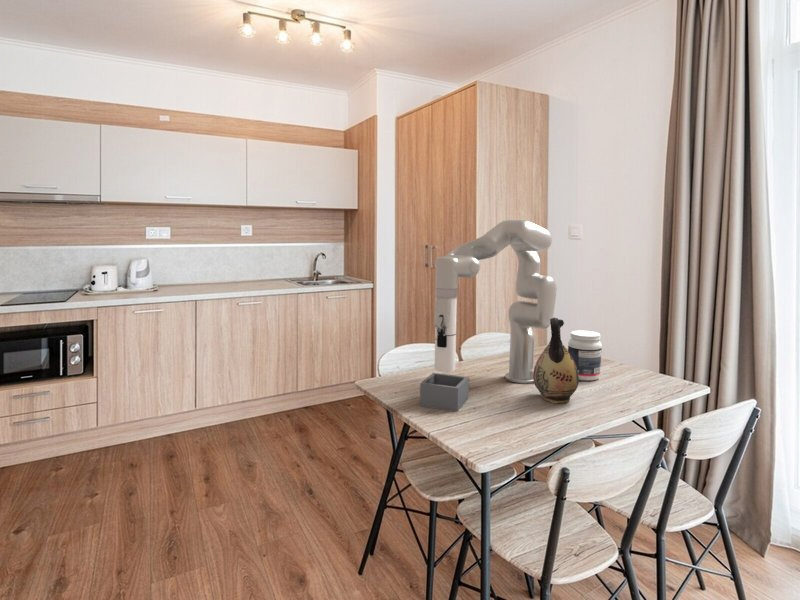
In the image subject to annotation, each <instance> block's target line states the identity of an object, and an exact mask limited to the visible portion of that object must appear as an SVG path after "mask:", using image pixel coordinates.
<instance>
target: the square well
mask: <svg viewBox="0 0 800 600" xmlns="http://www.w3.org/2000/svg"><path fill="white" fill-rule="evenodd" d="M469 382H470V377H469V376H462V375H454V374H446V373H438V372H432V373H431V374H429V376H427V377H426V378H425V379H424V380H422V381H421V382H420V383H419V406H420V407H425V406H426V407H425V408H431V407H432V408H433V409H437V410H438V409H439V410H445V411H451V412H452V411H453V412H459V411H460V409H462V407H463V406H464V405H465V404H466V403H467V401H468V400H469V396H470V395H469V391H470V390H469V388H470V385H469V384H470V383H469ZM463 404H464V405H463ZM432 408H431V409H432Z"/></svg>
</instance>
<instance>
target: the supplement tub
mask: <svg viewBox="0 0 800 600" xmlns="http://www.w3.org/2000/svg"><path fill="white" fill-rule="evenodd" d="M600 340H601V333H599V332H597V331H592V330H583V329H582V330H573V331H571V332H570V339H569V340H568V345H567V351H568V352H569V354H570V355H571V357H572V358H573V360H574V362H575V364H576V367H577V370H578V376H579V381H585V382H586V381H589V382H590V381H595V380H598V379H599V378H600V377H601V363H602V350H603V349H602V348H603V345H602V342H601V341H600Z"/></svg>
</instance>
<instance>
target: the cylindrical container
mask: <svg viewBox="0 0 800 600" xmlns="http://www.w3.org/2000/svg"><path fill="white" fill-rule="evenodd" d="M436 299H437V298H435V300H436ZM457 301H458V298H456V299H450V302H451V311H450V324H449V327H448V328H447V331H446V336H447V347H446V348H444V347H437V326H436V327H435V326H434V327H435V328H434V371H436V372H442V373H451V372H454V371H456V357H457V356H456V352H457V351H456V348H457V347H456V346H457V305H458V304H457V303H458V302H457ZM442 326H445V323H444V320H443V323H442ZM443 331H444V329H443Z"/></svg>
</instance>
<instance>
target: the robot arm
mask: <svg viewBox="0 0 800 600" xmlns="http://www.w3.org/2000/svg"><path fill="white" fill-rule="evenodd" d="M552 241H553V240H552V235H551V233H550V231H549V230H548V229H546V228H544V227H542V226H541V225H538V224H536V223H533V222H531V221H529V220H525V219H508V220H507V219H506V220H502V221H500V222H498V223H497V224H496V225H495V226H493V227H492V228H491V229H489V231H487V232H486V233H484V234H483V235H482V236H480V237H477V238H474V239H473V240H470V241H468V242H465V243H463V244H460V245H458V246H457V247H455V248H454V249H452V250H451V251H449V252H448V253H447V254H446V255H445V256H439V257H437V258H436V260H435V288H434V289H435V293H434V294H435V296H434V297H435V304H434V305H435V307H434V318H433V319H434V321H433V326H434V327H436V326H437V347H444V348H446V347H447V336H446V331H447V328H448V327H449V324H450V311H451V302H450V299H456V298H457V299H458V295H459V294H458V292H459V290H458V289H459V285H458V284H459V278H467V279H470V278H474V277H475V276H477V275H478V274H479V271H480V269H481V264H480V261H481V260H486V259H490V258H491V259H492V258H493V257H495V256H497V255H498V254H499V253H501V252H502V251H503V250H505V248H507V247H508V246H509V245H510V247H511V249H512V250H513V251H514V253H515V255H516V257H517V261H518V263H517V264H518V265H517V266H518V267H517V274H516V282H515V292H516V294H517V296H519V297H520V298H525V299H530V300H536V302H531V301H525V300H517V301H515V302H513V303H512V304H511V305H510V306H509V309H508V321H509V328H510V331H509V332H510V334H509V335H510V339H509V366H508V372H507V373H505V375H504V378H505V379H506V381H509V382H513V383H517V384H531V383H533V384H534V380H533V374H534V368H535V365H534V364H535V341H536V336H535V331H534V329H541V330H545V329H548V328H549V327H551V324H550V319H551V318H554V314H555V304H556V299H557V291H558V290H557V288H558V287H557V284H556V281H555V279H554V278H553V277H552V276H549V275H545V274H544V275H542V274H541V268H542V267H541V265H542V264H541V258H540V255H539V254H538V253H540V252H542V253H543V252H545V251H547V250H548V249H549V248H550V247H551V245H552ZM436 298H437V299H436ZM443 320H444V323H445V326H442V323H443ZM533 328H534V329H533ZM443 329H444V331H443Z"/></svg>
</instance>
